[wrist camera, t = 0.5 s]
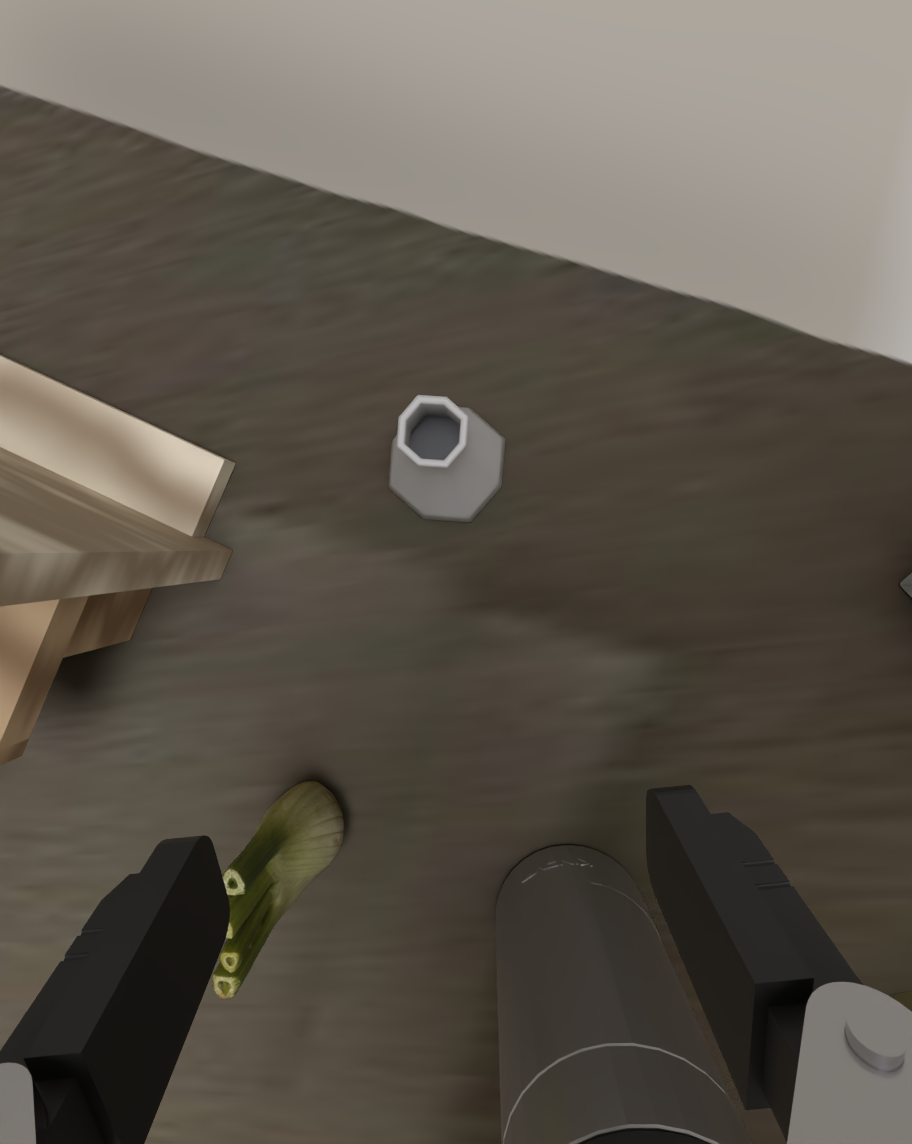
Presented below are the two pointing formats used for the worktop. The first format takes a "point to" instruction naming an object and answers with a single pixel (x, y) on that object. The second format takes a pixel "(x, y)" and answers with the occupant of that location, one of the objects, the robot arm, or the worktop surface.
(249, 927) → the fennel bulb
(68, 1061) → the robot arm
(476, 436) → the flask
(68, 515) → the wooden display stand
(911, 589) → the skincare box
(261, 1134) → the worktop surface
